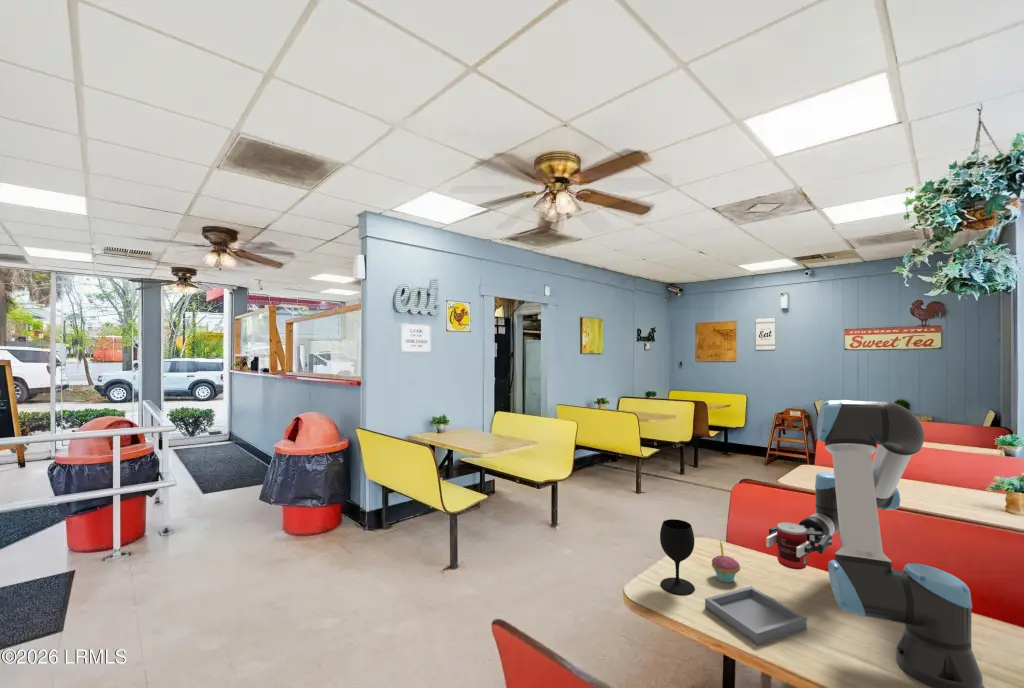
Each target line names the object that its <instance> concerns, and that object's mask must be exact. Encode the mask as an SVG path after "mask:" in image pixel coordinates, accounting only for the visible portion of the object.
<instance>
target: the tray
mask: <svg viewBox="0 0 1024 688" xmlns="http://www.w3.org/2000/svg"><path fill="white" fill-rule="evenodd" d="M704 608H705V610H706V611H708V612H709V613H711V615H713V616H715V618H717V619H720V621H722V622H723V623H724V624H726V625H728V626H729V627H730V628H732V629H733V630H735V631H736V632H737V633H739V634H741V636H743V637H744V638H746V639H747V640H749V641H750V642H752V643H753V644H755V645H756V646H758V645H763V644H765V643H768V642H772V641H774V640H777V639H781V638H784V637H786V636H790V635H793V634H796V633H800V632H803V631H806V630H807V617H806V616H804V615H802V614H800V613H798V612H796V611H795V610H793V609H791V608H790V607H788V606H786V605H784V604H783V603H781V602H779V601H777V600H776V599H774V598H772V597H770V596H769V595H767V594H765V593H764V592H762V591H760V590H758V589H757V588H755V587H753V586H747V587H744V588H740V589H735V590H733V591H732V590H731V591H727V592H725V593H724V592H723V593H721V594H717V595H713V596H709V597H705V598H704Z"/></svg>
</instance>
